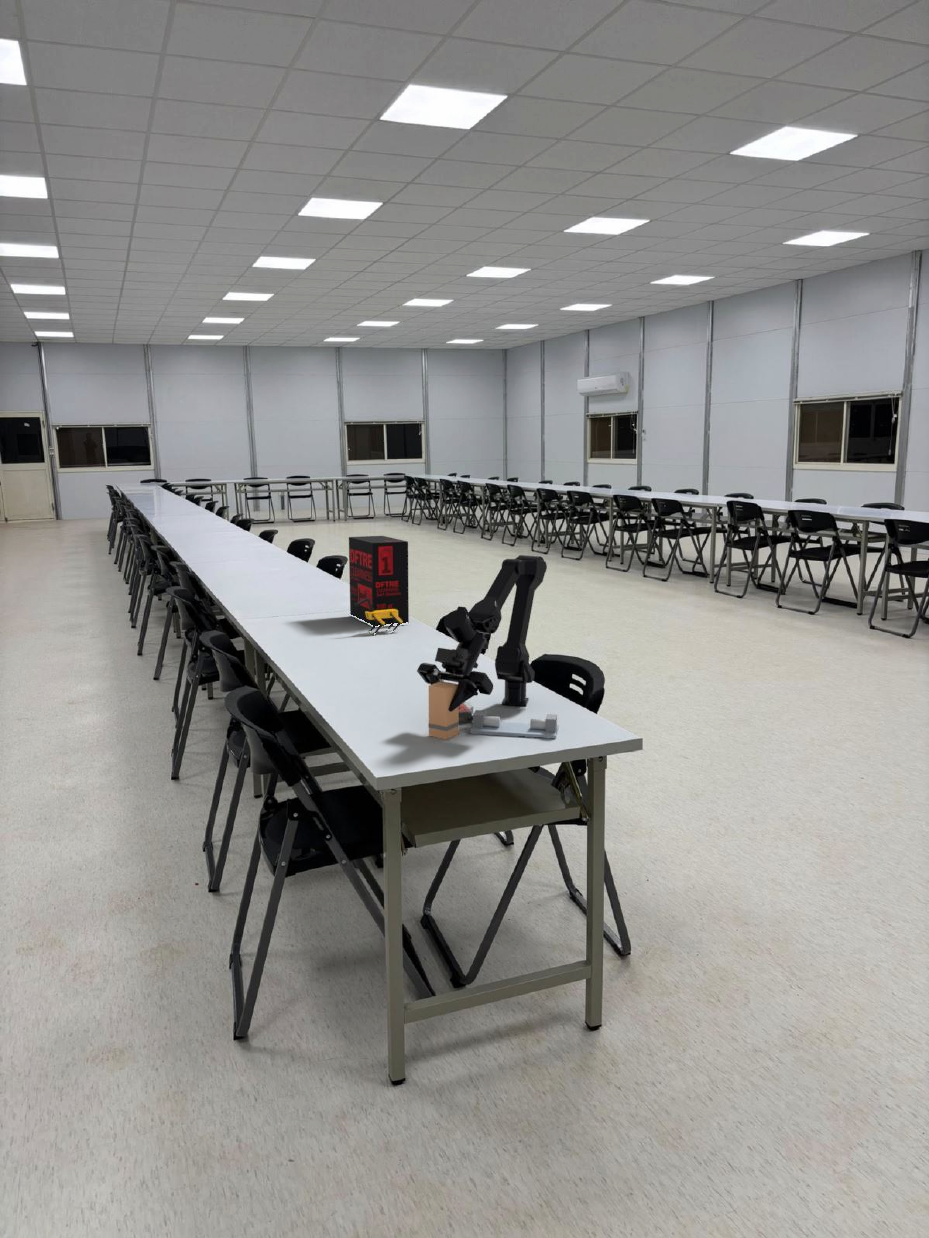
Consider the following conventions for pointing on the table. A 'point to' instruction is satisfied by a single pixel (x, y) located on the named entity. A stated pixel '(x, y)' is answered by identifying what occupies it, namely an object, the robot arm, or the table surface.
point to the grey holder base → (514, 726)
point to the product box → (378, 576)
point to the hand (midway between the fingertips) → (440, 708)
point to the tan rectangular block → (442, 710)
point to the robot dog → (380, 615)
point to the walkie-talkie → (465, 712)
